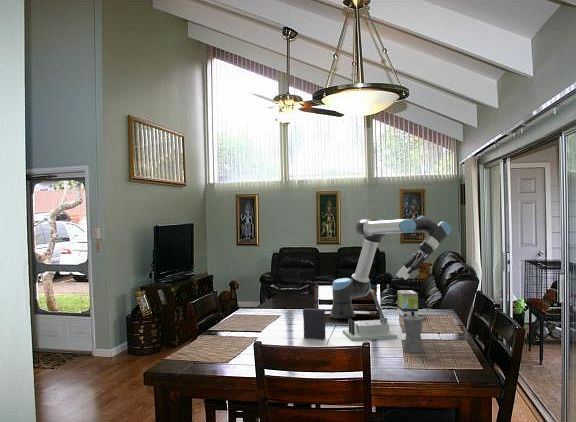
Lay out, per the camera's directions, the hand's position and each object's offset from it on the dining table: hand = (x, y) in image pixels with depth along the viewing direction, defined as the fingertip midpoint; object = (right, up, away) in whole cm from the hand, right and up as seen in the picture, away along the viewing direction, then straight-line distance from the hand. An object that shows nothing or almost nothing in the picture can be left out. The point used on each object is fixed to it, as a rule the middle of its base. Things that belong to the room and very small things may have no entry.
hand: (400, 277), depth 260 cm
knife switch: (-18, -29, -3) cm, 34 cm away
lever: (-13, -15, -2) cm, 20 cm away
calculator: (-46, -31, -7) cm, 56 cm away
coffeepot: (-2, -30, -33) cm, 45 cm away
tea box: (+16, -31, +49) cm, 59 cm away
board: (-17, -30, -3) cm, 35 cm away
